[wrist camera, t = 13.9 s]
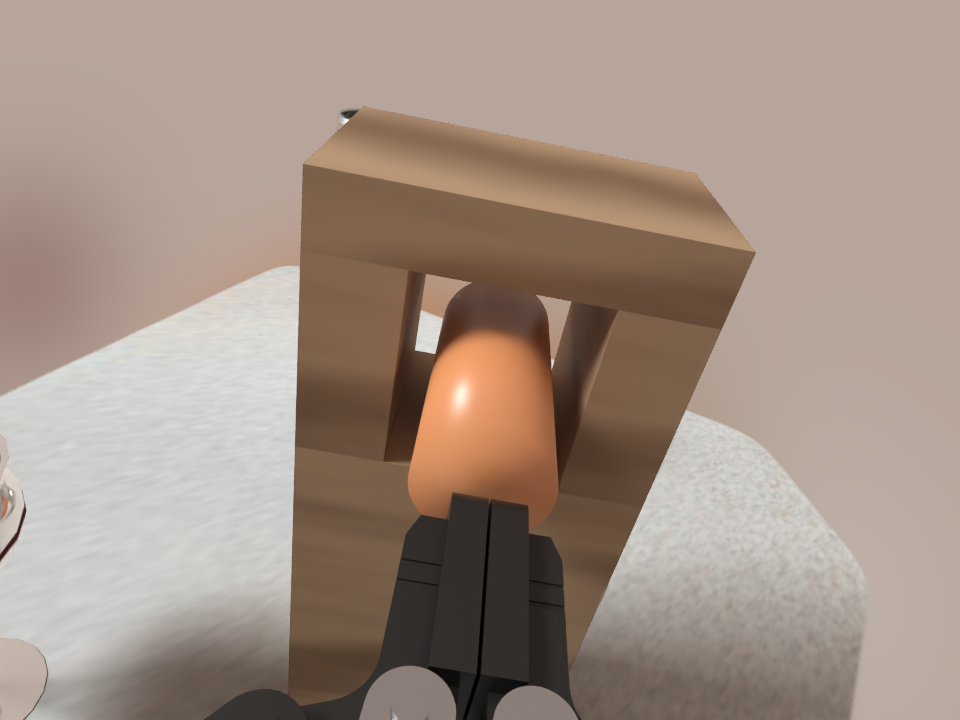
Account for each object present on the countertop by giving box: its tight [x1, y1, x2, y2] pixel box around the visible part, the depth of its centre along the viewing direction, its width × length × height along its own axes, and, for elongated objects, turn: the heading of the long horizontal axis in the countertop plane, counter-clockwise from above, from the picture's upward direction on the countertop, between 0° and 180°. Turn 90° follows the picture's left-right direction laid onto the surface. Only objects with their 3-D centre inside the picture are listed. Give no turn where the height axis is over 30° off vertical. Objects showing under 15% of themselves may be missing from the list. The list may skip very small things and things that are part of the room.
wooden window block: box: [288, 107, 756, 706], centre depth 23 cm, size 6×10×24 cm, turn 86°
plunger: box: [408, 283, 558, 531], centre depth 17 cm, size 7×3×3 cm, turn 176°
